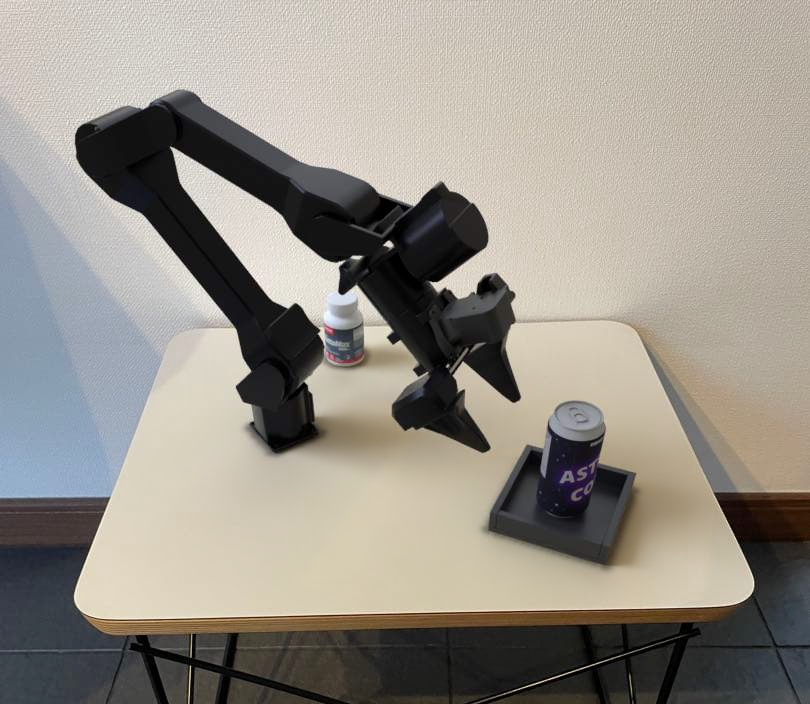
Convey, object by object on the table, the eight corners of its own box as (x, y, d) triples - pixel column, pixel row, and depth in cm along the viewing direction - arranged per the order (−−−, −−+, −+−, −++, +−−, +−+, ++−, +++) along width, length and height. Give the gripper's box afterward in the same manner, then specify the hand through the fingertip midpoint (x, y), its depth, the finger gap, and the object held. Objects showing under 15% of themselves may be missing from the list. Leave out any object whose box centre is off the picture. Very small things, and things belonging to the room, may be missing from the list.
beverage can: (549, 528, 81) (566, 437, 72) (526, 494, 84) (539, 404, 76) (597, 516, 82) (619, 425, 73) (572, 483, 86) (590, 393, 77)
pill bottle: (319, 361, 105) (313, 301, 98) (339, 343, 108) (335, 284, 102) (352, 371, 103) (349, 310, 97) (371, 353, 106) (369, 293, 100)
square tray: (487, 530, 81) (489, 512, 79) (524, 461, 89) (526, 443, 88) (604, 565, 78) (609, 547, 76) (631, 490, 86) (636, 472, 84)
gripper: (425, 310, 63) (534, 451, 68) (503, 220, 75) (591, 346, 80) (345, 366, 71) (447, 489, 76) (426, 277, 83) (511, 388, 88)
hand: (502, 425), depth 80 cm, fingers open, 9 cm apart
